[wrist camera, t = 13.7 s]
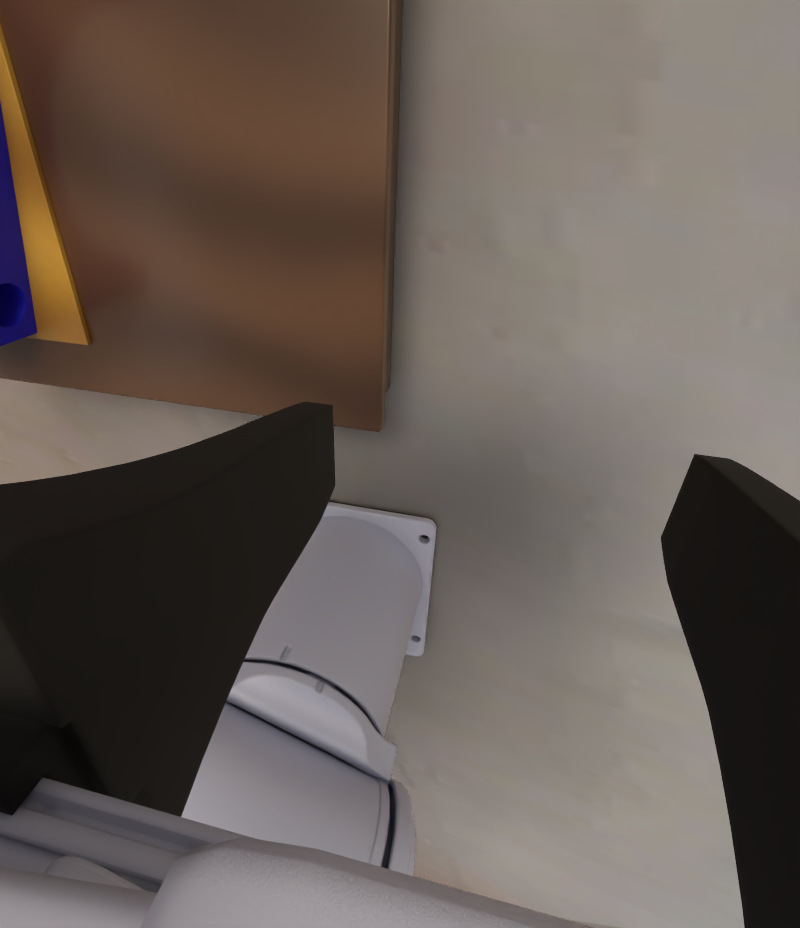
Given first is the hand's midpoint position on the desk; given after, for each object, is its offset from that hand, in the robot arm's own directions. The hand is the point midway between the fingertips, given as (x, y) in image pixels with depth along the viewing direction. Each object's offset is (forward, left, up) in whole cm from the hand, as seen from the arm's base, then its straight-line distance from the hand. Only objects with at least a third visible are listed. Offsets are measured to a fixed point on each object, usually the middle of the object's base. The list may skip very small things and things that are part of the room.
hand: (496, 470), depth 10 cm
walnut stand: (+4, +13, -10) cm, 17 cm away
